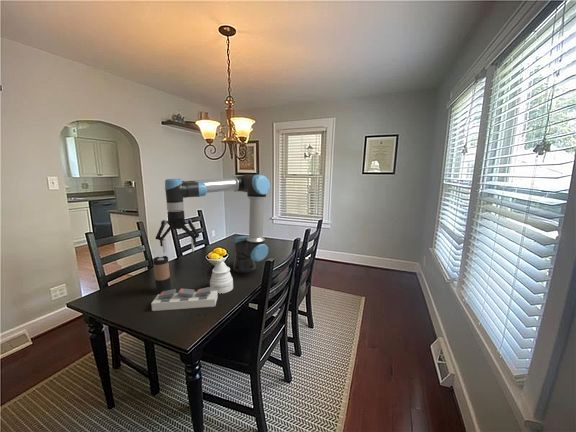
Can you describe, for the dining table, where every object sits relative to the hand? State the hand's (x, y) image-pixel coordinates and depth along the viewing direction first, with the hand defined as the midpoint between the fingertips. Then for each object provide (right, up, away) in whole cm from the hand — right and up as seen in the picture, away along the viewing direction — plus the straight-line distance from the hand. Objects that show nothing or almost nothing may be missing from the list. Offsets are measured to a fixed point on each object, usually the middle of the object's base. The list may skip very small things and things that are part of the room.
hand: (179, 251), depth 126 cm
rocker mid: (+3, -22, +2) cm, 22 cm away
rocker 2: (+12, -22, +3) cm, 25 cm away
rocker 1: (-6, -22, +1) cm, 23 cm away
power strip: (+3, -27, +2) cm, 27 cm away
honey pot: (+17, -24, +18) cm, 35 cm away
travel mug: (-15, -25, +14) cm, 32 cm away
